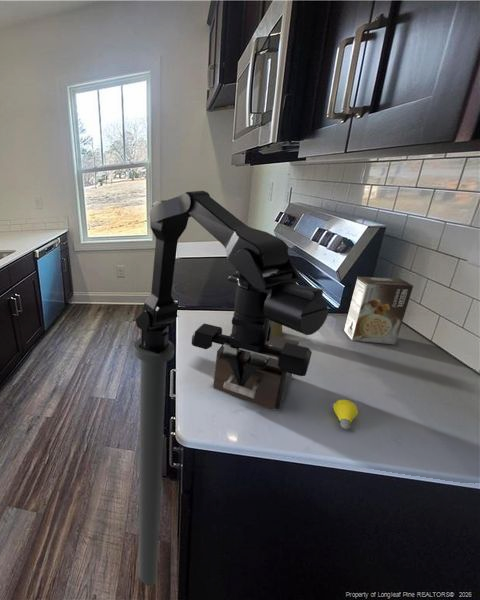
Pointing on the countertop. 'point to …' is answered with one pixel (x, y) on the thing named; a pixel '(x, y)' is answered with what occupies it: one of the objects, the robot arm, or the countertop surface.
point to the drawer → (249, 384)
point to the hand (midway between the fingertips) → (241, 385)
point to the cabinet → (271, 365)
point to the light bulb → (345, 412)
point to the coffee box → (377, 309)
